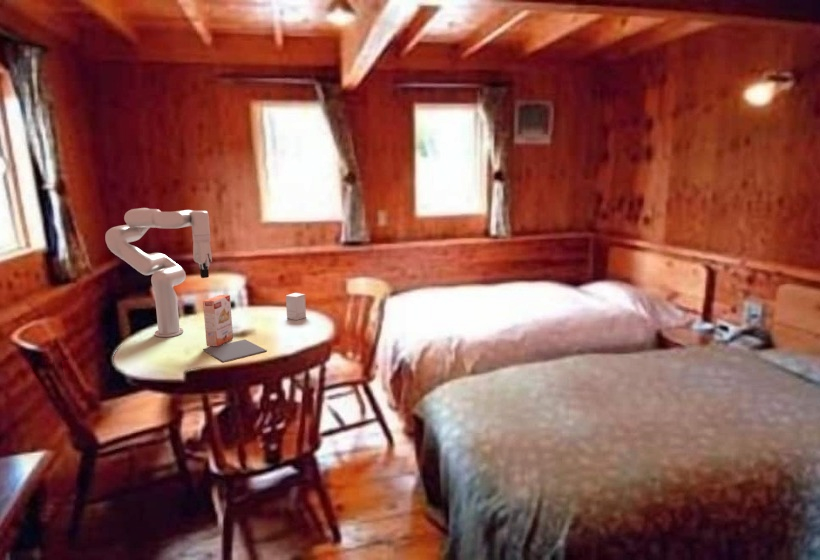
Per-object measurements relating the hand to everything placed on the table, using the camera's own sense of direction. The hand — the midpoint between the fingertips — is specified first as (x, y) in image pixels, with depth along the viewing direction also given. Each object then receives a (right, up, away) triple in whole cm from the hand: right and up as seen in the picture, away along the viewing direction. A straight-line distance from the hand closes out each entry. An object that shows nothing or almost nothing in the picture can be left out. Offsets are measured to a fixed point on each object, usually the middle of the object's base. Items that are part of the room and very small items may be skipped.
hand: (204, 277), depth 259 cm
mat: (+18, -32, -13) cm, 39 cm away
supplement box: (+35, -21, +38) cm, 56 cm away
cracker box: (+8, -30, -3) cm, 31 cm away
